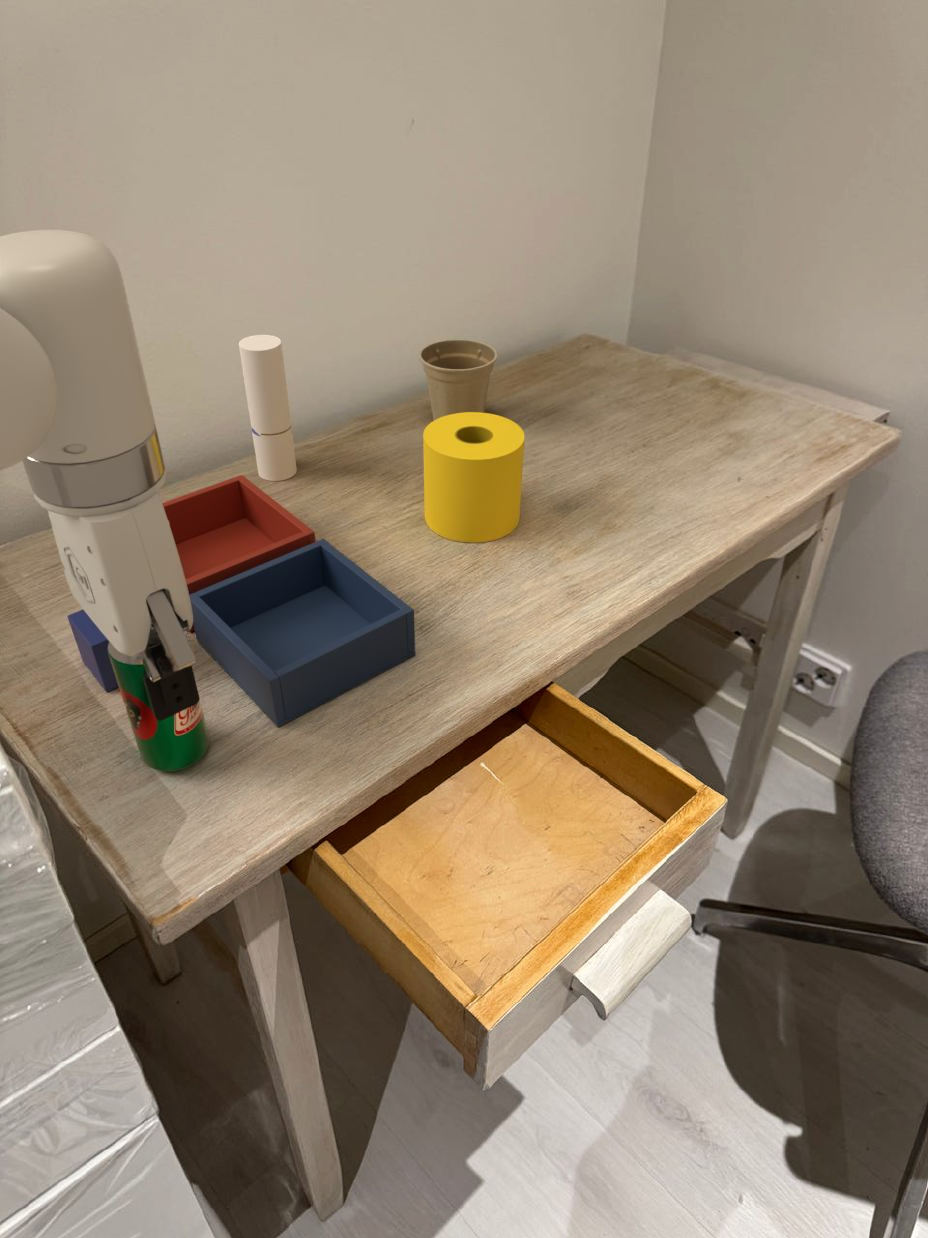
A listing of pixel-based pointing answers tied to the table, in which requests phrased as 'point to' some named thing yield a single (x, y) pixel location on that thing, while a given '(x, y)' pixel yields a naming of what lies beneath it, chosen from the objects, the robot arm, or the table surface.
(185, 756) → the soda can
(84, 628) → the blue block
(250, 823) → the table surface
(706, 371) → the table surface
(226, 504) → the red bin
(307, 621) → the blue bin
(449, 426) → the tape roll
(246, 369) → the tube
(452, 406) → the flower pot
